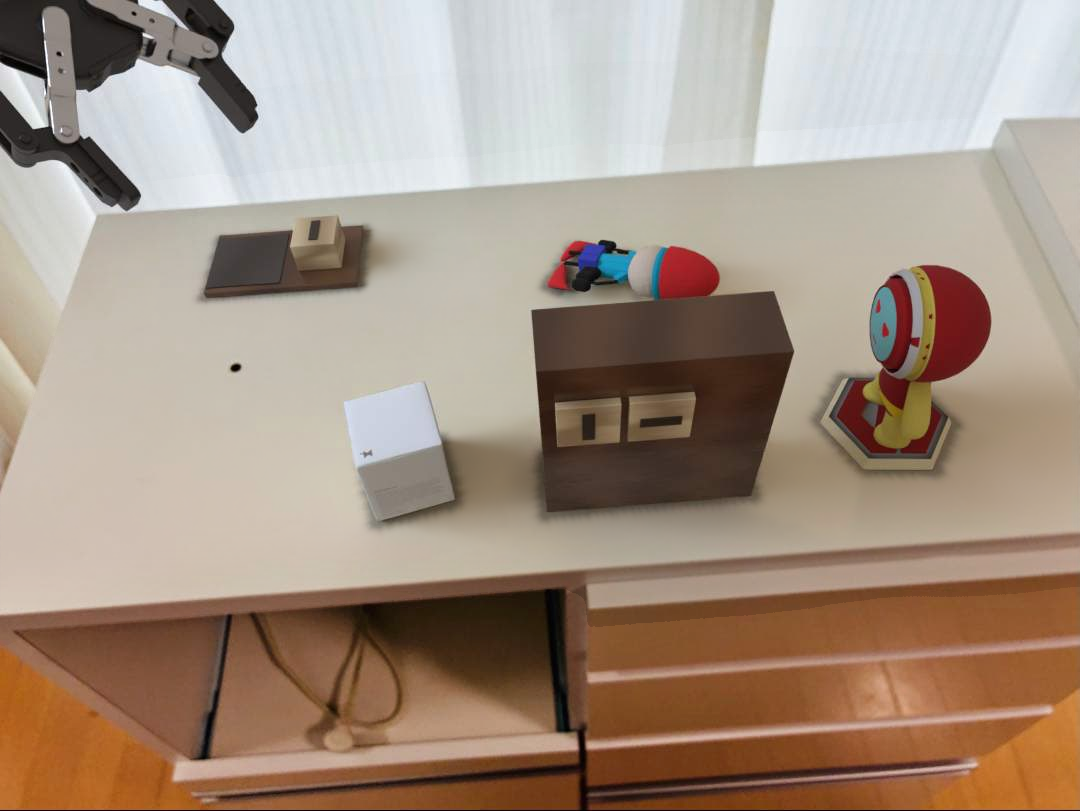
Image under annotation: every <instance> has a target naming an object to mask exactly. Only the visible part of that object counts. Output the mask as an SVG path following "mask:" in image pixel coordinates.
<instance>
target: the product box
mask: <svg viewBox="0 0 1080 811" xmlns="http://www.w3.org/2000/svg"><path fill="white" fill-rule="evenodd" d="M343 408H344V414H345V419H346V424H347V429H348V430H347V431H348V435H349V440H350V446H351V451H352V457H353V462H354V467H355V470H356V472H357V475H358V477H359V480H360V482H361V485H362V487H363V490H364V493H365V495H366V497H367V500H368V502H369V506H370V508H371V510H372V512H373V516H374V517H375V520H376V522H381V521H385V520H387V519H393V518H395V517H399V516H403V515H406V514H410V513H413V512H416V511H420V510H424V509H428V508H431V507H434V506H438V505H441V504H445V503H449V502H453V501H454V500H455V499H456V496H455V493H454V488H453V484H452V481H451V477H450V473H449V469H448V464H447V461H446V459H447V458H446V456H445V452H444V446H443V440H442V437H441V432H440V428H439V424H438V421H437V417H436V413H435V409H434V405H433V402H432V399H431V396H430V392H429V390H428V386H427V383H426V382H425V381H418V382H414V383H409V384H406V385H403V386H398V387H395V388H391V389H388V390H384V391H381V392H377V393H373V394H368V395H365V396H361V397H356V398H354V399H350V400H346V401H343Z"/></svg>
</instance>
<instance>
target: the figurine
mask: <svg viewBox="0 0 1080 811" xmlns="http://www.w3.org/2000/svg"><path fill="white" fill-rule="evenodd" d="M991 329H992V313H991V307H990V304H989V301H988V299H987V297H986V295H985V294H984V291H983V290H982V289H981V287H980V286H979V285H978V284H977V283H976V282H975V281H974V280H973V279H972V278H970V277H969V276H968V275H966V274H964V273H963V272H962V271H960V270H957V269H954V268H951V267H950V266H949V267H948V266H943V265H939V264H921V265H917V266H912V267H910V268H901V269H899V270H897V271H895V272H893V273H892V274H891V275H889V276H888V277H887V279H886V280H885V282H884V284H882V285H881V286H880V287H878V289H877V290H876V292H875V294H874V297H873V300H872V303H871V308H870V314H869V341H870V348H871V351H872V354H873V357H874V358H875V360H876V362H878V363H880V365H881V369H880V370H879V371H878V374H877V375H876V376H875V377H847V378H843V379H841V382H840V384H839V386H838V387H837V390H836V392H835V393H834V395H833V397H832V399H831V401H830V403H829V404H828V406H827V408H826V410H825V412H824V414H823V416H822V418H821V420H820V422H819V424H820V425H821V426H822V427H823V428H824V429H825V430H826V431H827V432H828V433H829V434H830V436H831V437H832V438H833V439H834V440H835V441H836V442H837V443H838V444H839V445H840V446H841V447H842V448H843V450H845V451H846V453H847V454H849V456H850V457H851V458H852V459H853V460H854V461H855V462H856V463H857V465H859V467H861V469H862V470H873V471H875V470H879V471H881V470H882V471H885V470H887V471H890V470H891V471H933V469H934V467H935V465H936V462H937V460H938V458H939V454H940V452H941V450H942V447H943V445H944V442H945V440H946V438H947V435H948V433H949V430H950V428H951V426H952V421H951V418H950V416H948V414H946V413H945V412H944V411H943V410H942V409H941V408H940V407H939V406H938V405H936V403H935V402H934V401H932V389H931V388H932V387H931V385H932V383H933V382H940V381H944V380H948V379H951V378H952V377H955V376H957V375H959V374H960V373H962V372H964V371H965V370H966V369H968V368H969V367H970V366H972V364H974V363H975V362H976V361H977V359H978V358H979V357H980V355H981V354H982V352H984V349H985V348H986V346H987V344H988V341H989V338H990V335H991Z"/></svg>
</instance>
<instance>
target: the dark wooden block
mask: <svg viewBox="0 0 1080 811" xmlns="http://www.w3.org/2000/svg"><path fill="white" fill-rule="evenodd" d="M530 314H531V327H532V339H533V340H532V341H533V352H534V354H533V355H534V365H535V380H536V391H537V404H538V417H539V429H540V440H541V442H540V443H541V444H540V445H541V454H542V467H543V470H542V471H543V481H544V482H543V483H544V493H545V494H544V495H545V506H546V507H545V508H546V512H549V513H550V512H563V511H575V510H577V511H578V510H588V509H600V508H601V509H602V508H613V507H614V508H615V507H625V506H640V505H653V504H654V505H655V504H665V503H678V502H689V501H690V502H691V501H704V500H705V501H706V500H715V499H717V500H718V499H728V498H729V499H730V498H742V497H752V495H753V491H754V487H755V484H756V481H757V478H758V475H759V474H758V473H759V470H760V468H761V465H762V461H763V458H764V455H765V452H766V447H767V444H768V441H769V437H770V434H771V431H772V427H773V424H774V420H775V418H776V414H777V411H778V408H779V404H780V401H781V398H782V394H783V392H784V388H785V384H786V380H787V377H788V374H789V370H790V368H791V364H792V362H793V361H792V360H793V358H794V354H795V348H794V346H793V343H792V339H791V336H790V333H789V331H788V328H787V326H786V321H785V319H784V316H783V313H782V310H781V307H780V304H779V301H778V298H777V295H776V292H775V290H770V291H769V290H768V291H755V292H754V291H753V292H742V293H728V294H717V295H709V296H702V297H689V298H676V299H663V300H655V299H652V300H651V299H650V300H638V301H637V300H636V301H625V302H613V303H612V302H611V303H599V304H588V305H587V304H585V305H575V306H573V305H572V306H562V307H561V306H560V307H548V308H536V309H531V311H530Z"/></svg>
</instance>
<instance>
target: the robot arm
mask: <svg viewBox="0 0 1080 811" xmlns="http://www.w3.org/2000/svg"><path fill="white" fill-rule="evenodd" d="M153 1H154V2H158V1H159V0H153ZM161 1H162V2H163V3H164V5H165V6H166V7H167V8H168V9H169V10H170V11H171V12H172V13H173V14H174V15H175V16H176V18H177V19H178V20H179V21H180V22H181V23H182V24H183V25H184V26H185V27H186V28H185V27H182V26H180V25H179V24H178V23H177V21H176V20H175V19H174V18H172V17H170V16H167V15H165V14H163V13H160V12H158V11H155V10H154V9H153V10H152V9H150V8H148V7H146V6H143V5H140V4H139V0H0V64H2V65H4V66H6V67H7V68H11V69H14V70H16V71H18V72H22V73H25V74H27V75H29V76H32V77H33V76H34V78H35V77H36V78H39V79H41V80H42V89H43V99H44V108H45V117H46V121H47V126H43V127H38V128H33V127H32V125H31V124H30V123H29V122H28V121H27V120H26V119H25V118H24V116H23V115H22V113H20V111H19V110H18V109H17V108H16V107H15V105H13V103H12V102H11V101H10V100H9V99H8V97H7V96H6V95H5V94H4V92H3V91H2V90H0V148H1V149H2V150H3V151H4V152H5V154H6V155H7V156H8V157H9V158H10V159H11V160H12V162H13V163H14V164H16V166H19V167H21V168H25V169H29V168H33V167H35V166H36V165H37V164H38V163H43V162H47V161H48V162H49V161H57V162H60V163H63V164H64V165H66V166H67V167H68V168H69V169H70V170H71V171H72V172H73V173H74V174H75V175H76V176H77V177H78V178H79V179H80V181H81V182H82V183H83V184H84V185H85V186H86V187H87V188H88V189H89V190H90V191H91V193H93V195H94V196H95V197H96V198H97V199H98V200H99V201H100V202H101V203H103V204H104V205H106V206H109V207H110V208H113V207H115V206H116V205H118V206H119V207H120V208H121V209H122V210H124V211H125V212H128V211H130V210H131V209H133V208H134V207H136V206H138V204H140V203H139V202H140V200H141V198H142V194H141V191H140V190H139V188H138V187H137V186H136V185H135V183H133V182H132V181H131V179H129V177H128V176H127V175H126V174H125V173H124V172H123V171H122V170H121V169H120V167H118V165H117V164H116V163H115V162H114V161H113V160H112V159H111V157H109V155H107V154H106V152H105V151H104V150H103V149H102V148H101V147H100V146H99V145H98V144H97V142H96V141H95V140H94V139H93V138H92V137H91V136H90V135H89V136H87V137H85V138H84V137H83V136H82V135H81V134H80V133H81V131H80V124H79V115H78V106H77V105H78V104H77V91H87V92H88V93H91V92H92V91H93V92H94V90H96V89H98V88H100V87H101V86H102V85H103V84H104V83H105V82H106V81H107V79H108V78H109V77H112V76H116V75H119V74H124V73H126V72H128V71H130V70H131V69H133V68H134V67H135V66H136V64H137V61H138V60H141V61H143V62H145V63H148V64H151V65H153V66H157V67H167V66H168V67H171V68H174V69H177V70H179V71H181V72H185V73H187V74H189V75H192V76H195V77H198V78H199V80H198V82H197V85H198V86H199V87H200V89H201V90H202V91H203V92H204V93H205V94H206V96H207V97H208V98H209V99H210V100H211V101H212V102H213V103H214V105H215V106H216V107H217V108H218V109H219V110H220V112H221V113H222V114H223V116H225V117H226V119H227V120H228V121H229V123H230V124H232V126H233V127H234V128H235V129H236V130H237V132H239V133H240V134H245V133H246V132H248V131H250V130H251V129H252V128H253V127H254V126H255V125H256V123H257V121H258V120H259V114H258V111H257V107H258V102H257V101H256V98H255V96H254V95H253V93H252V92H251V91H250V90H249V88H247V86H246V85H245V84H244V82H243V81H242V80H241V79H240V77H238V76H237V74H236V73H235V72H234V71H233V69H232V68H231V67H230V65H229V64H228V63H227V62H226V60H224V57H223V53H224V52H225V50H226V48H227V45H228V42H229V41H230V38H231V37H232V35H233V34H234V31H235V23H234V21H233V20H232V18H231V17H229V15H228V14H227V12H225V11H224V10H223V9H222V7H221V6H219V4H218V3H217V2H216V1H215V0H161ZM144 34H145V35H148V36H150V37H151V38H150V37H147V36H144Z"/></svg>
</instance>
